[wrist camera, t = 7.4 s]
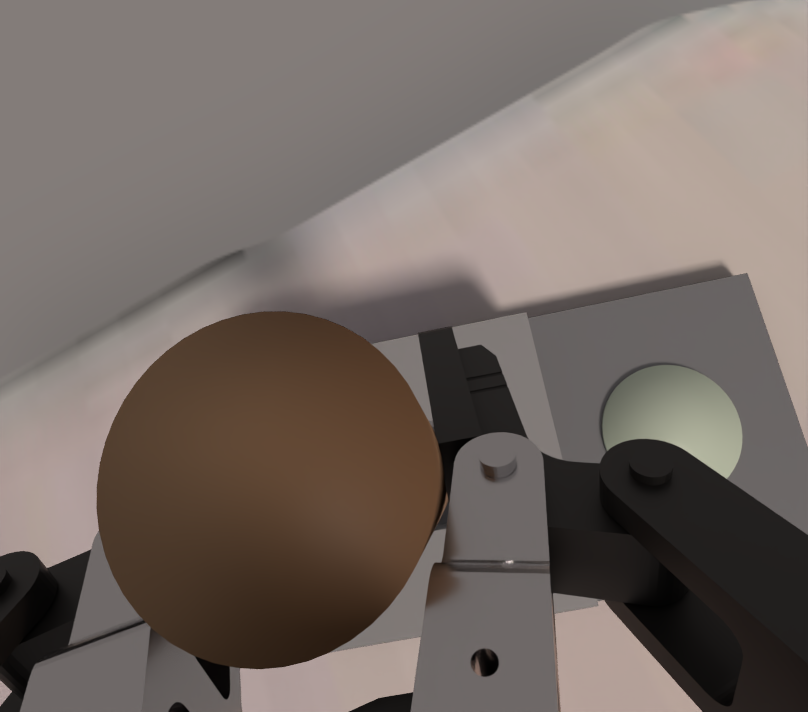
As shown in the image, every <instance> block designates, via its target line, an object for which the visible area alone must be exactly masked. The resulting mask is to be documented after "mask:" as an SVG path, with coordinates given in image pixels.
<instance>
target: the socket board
mask: <svg viewBox="0 0 808 712" xmlns="http://www.w3.org/2000/svg"><path fill="white" fill-rule="evenodd" d="M452 329H453V333H454V337H455V340H456V344H457V347H458V349H460V348H465V347H471V346H476V345H482V346H484V347H485V348H486V349H488V350H489V351H490V352H492V353H493V354H494V355H496V357H497V359H498V362H499V365H500V367H501V370H502V374H503V375H504V378H505V380H506V383H507V387H508V388H509V391H510V393H511V396H512V398H513V401H514V404H515V406H516V409H517V411H518V414H519V417H520V419H521V422H522V425H523V427H524V430H525V432H526V435H527V437H528V439H529V440H530V441H532V442H533V443H534V444H535V445H536V446H537V447H538V448H539V449H540V451H541V452H543V453H545V454H547V455H549V456H551V457H554V458H557V459H561V460H565V461H572V462H585V463H600V462H601V459H602V457H603V456H604V454H605V453H606V452H607V451H608V450H609V449H610V448H612V447H613V446H615V445H617V444H619V443H621V442H624V441H628V440H634V439H655V440H660V441H665V442H668V443H671V444H674V445H676V446H678V447H680V448H682V449H684V450H685V451H687V452H689V453H690V454H691V455H693V456H694V457H696V458H697V459H699V460H700V461H702V462H703V463H704V464H706V465H707V466H709V467H710V468H712V469H713V470H715V471H716V472H717V473H719V474H720V475H722V476H723V477H725V478H726V479H728V480H729V481H731V482H732V483H733V484H735V485H736V486H738V487H739V488H741V489H742V490H744V491H745V492H746V493H748V494H749V495H751V496H752V497H754V498H755V499H757V500H758V501H760V502H761V503H762V504H764V505H765V506H767V507H768V508H770V509H771V510H773V511H774V512H775V513H777V514H778V515H780V516H781V517H783V518H784V519H786V520H787V521H788V522H790V523H791V524H793V525H794V526H796V527H797V528H799V529H800V530H802V531H803V532H804V533H806V534H807V535H808V447H807V444H806V441H805V438H804V435H803V432H802V429H801V427H800V424H799V421H798V418H797V415H796V412H795V409H794V406H793V403H792V401H791V398H790V395H789V392H788V389H787V386H786V383H785V380H784V378H783V375H782V372H781V369H780V366H779V363H778V360H777V357H776V354H775V352H774V349H773V346H772V343H771V340H770V337H769V334H768V331H767V329H766V326H765V323H764V320H763V317H762V314H761V311H760V308H759V305H758V303H757V300H756V297H755V294H754V291H753V288H752V285H751V282H750V279H749V277H748V274H747V273H745V274H740V275H735V276H731V277H726V278H721V279H716V280H711V281H706V282H701V283H696V284H692V285H687V286H682V287H677V288H672V289H667V290H662V291H657V292H652V293H648V294H643V295H638V296H633V297H628V298H623V299H618V300H613V301H609V302H604V303H599V304H594V305H589V306H584V307H579V308H574V309H569V310H565V311H560V312H555V313H550V314H545V315H540V316H535V317H530V318H528V316H527V312H524V313H519V314H514V315H509V316H504V317H499V318H495V319H490V320H485V321H480V322H475V323H470V324H465V325H461V326H456V327H452ZM372 345H373V346H374V347H375V348H377V349H378V350H379V351H380V352H381V353H382V354H383V355H384V356H385V357H386V358H387V359H388V360H389V361H390V362H391V363H392V364H393V365H394V366H395V367H396V368H397V370H398V371H399V372H400V374H401V375H402V376H403V378H404V379H405V380H406V382H407V383H408V385H409V386H410V388H411V390H412V392H413V394H414V395H415V397H416V399H417V401H418V402H419V404H420V406H421V408H422V410H423V412H424V413H425V415H426V417H427V419H428V421H429V423H430V424H431V426H432V428H433V430H434V425H433V419H432V413H431V407H430V401H429V396H428V390H427V384H426V378H425V372H424V366H423V361H422V355H421V349H420V343H419V337H418V334H417V335H412V336H407V337H402V338H397V339H392V340H388V341H383V342H378V343H373V344H372ZM434 432H435V431H434ZM448 510H449V501H448V503H447V506H446V508H445V510H444V512H443V514H442V516H441V518H440V520H439V522H438V524H437V526H436V528H435V530H434V532H433V534H432V536H431V538H430V540H429V542H428V544H427V546H426V548H425V549H424V551H423V553H422V555H421V557H420V559H419V561H418V563H417V565H416V567H415V569H414V571H413V572H412V574H411V576H410V577H409V579H408V581H407V583H406V584H405V586H404V588H403V589H402V590H401V592H400V593H399V594H398V596H397V597H396V598H395V600H394V601H393V602H392V604H391V605H390V606H389V607H388V608H387V609H386V610H385V611H384V612H383V613H382V614H381V615H380V616H379V617H378V618H377V620H376V621H375V622H374V623H373V624H372V625H370V626H369V627H368V628H366V629H365V630H364V631H363V632H361V633H360V634H359V635H357V636H356V637H355V638H353V639H352V640H351V641H349V642H347V643H345V644H344V645H342V646H340V647H338V648H337V649H335V650H333V651H331V652H336V651H341V650H347V649H353V648H359V647H364V646H370V645H376V644H382V643H388V642H393V641H399V640H405V639H411V638H417V637H421V633H422V626H423V619H424V612H425V604H426V597H427V590H428V583H429V577H430V572H431V569H432V566H433V564H434V563H435V562H442V558H443V551H444V543H445V534H446V526H447V518H448ZM553 599H554V614H555V613H561V612H567V611H573V610H578V609H584V608H590V607H596V606H598V602H597V601H601V599H594V598H587V597H579V596H572V595H565V594H557V593H553ZM329 653H330V652H329Z"/></svg>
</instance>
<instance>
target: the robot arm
mask: <svg viewBox="0 0 808 712" xmlns="http://www.w3.org/2000/svg"><path fill="white" fill-rule="evenodd" d="M418 337H419V343H420V349H421V355H422V361H423V366H424V372H425V378H426V384H427V390H428V396H429V401H430V407H431V413H432V419H433V425H434V431H435V436H436V438H437V441H438V445H439V449H440V452H441V456H442V461H443V468H444V481H445V486H446V491H447V496H448V500H449V510H448V518H447V526H446V534H445V543H444V551H443V558H442V562H435V563H434V564H433V566H432V569H431V572H430V577H429V583H428V590H427V597H426V604H425V612H424V619H423V626H422V633H421V640H420V648H419V655H418V662H417V669H416V676H415V684H414V691H413V692H412V693H407V694H401V695H395V696H389V697H383V698H378V699H376V700H374V701H372V702H369V703H367V704H365V705H363V706H361V707H358V708H356V709H354V710H352V711H350V712H561V707H560V693H559V678H558V662H557V646H556V631H555V615H554V599H553V593H557V594H565V595H572V596H579V597H587V598H594V599H601V600H605V602H606V603H607V605H608V606H609V607H610V609H611V610H612V611H613V612H614V613H615V614H616V615H617V616H618V618H619V619H620V620H621V621H622V622H623V623H624V624H625V625H626V627H627V628H628V629H629V630H630V631H631V632H632V633H633V634H634V635H635V637H636V638H637V639H638V640H639V641H640V642H641V643H642V644H643V646H644V647H645V648H646V649H647V650H648V651H649V652H650V653H651V654H652V656H653V657H654V658H655V659H656V660H657V661H658V662H659V663H660V665H661V666H662V667H663V668H664V669H665V670H666V671H667V672H668V673H669V675H670V676H671V677H672V678H673V679H674V680H675V681H676V682H677V684H678V685H679V686H680V687H681V688H682V689H683V690H684V691H685V692H686V694H687V695H688V696H689V697H690V698H691V699H692V700H693V701H694V703H695V704H696V705H697V706H698V707H699V708H700V709H701V710H702V711H703V712H808V535H807V534H806V533H804V532H803V531H802V530H800V529H799V528H797V527H796V526H794V525H793V524H791V523H790V522H788V521H787V520H786V519H784V518H783V517H781V516H780V515H778V514H777V513H775V512H774V511H773V510H771V509H770V508H768V507H767V506H765V505H764V504H762V503H761V502H760V501H758V500H757V499H755V498H754V497H752V496H751V495H749V494H748V493H746V492H745V491H744V490H742V489H741V488H739V487H738V486H736V485H735V484H733V483H732V482H731V481H729V480H728V479H726V478H725V477H723V476H722V475H720V474H719V473H717V472H716V471H715V470H713V469H712V468H710V467H709V466H707V465H706V464H704V463H703V462H702V461H700V460H699V459H697V458H696V457H694V456H693V455H691V454H690V453H689V452H687V451H685V450H684V449H682V448H680V447H678V446H676V445H674V444H671V443H668V442H665V441H660V440H655V439H634V440H628V441H624V442H621V443H619V444H617V445H615V446H613V447H612V448H610V449H609V450H608V451H607V452H606V453H605V454H604V456H603V457H602V459H601V462H600V463H585V462H572V461H565V460H561V459H557V458H554V457H551V456H549V455H547V454H545V453H543V452H541V451H540V449H539V448H538V447H537V446H536V445H535V444H534V443H533V442H532V441H530V440H529V439H528V437H527V435H526V432H525V430H524V427H523V425H522V422H521V419H520V417H519V414H518V411H517V409H516V406H515V404H514V401H513V398H512V396H511V393H510V391H509V388H508V387H507V383H506V380H505V378H504V375H503V374H502V370H501V367H500V365H499V362H498V359H497V357H496V355H494V354H493V353H492V352H490V351H489V350H488V349H486V348H485V347H484V346H482V345H476V346H471V347H465V348H460V349H458V347H457V344H456V340H455V337H454V333H453V329H452V327H445V328H440V329H435V330H430V331H425V332H420V333H418ZM0 680H1V681H2V682H3V683H4V684H5V685H6V686H7V687H8V688H9V689H10V690H11V691H12V693H11V694H10V695H9V696H8V698H7V699H6V700H5V701H4V702H3V704H2V705H1V706H0V712H242V706H241V685H240V668H235V667H230V666H226V665H221V664H216V663H212V662H210V661H207V660H204V659H201V658H199V657H196V656H193V655H191V654H189V653H187V652H186V651H184V650H182V649H180V648H178V647H176V646H175V645H173V644H171V643H170V642H169V641H167V640H166V639H165V638H163V637H162V636H161V635H159V634H158V633H157V632H155V631H154V630H153V629H152V628H151V627H150V626H149V625H148V624H147V623H146V622H145V621H144V620H143V619H142V618H141V617H140V616H139V615H138V614H137V613H136V611H135V610H134V608H133V607H132V606H131V604H130V603H129V602H128V600H127V599H126V598H125V596H124V595H123V593H122V591H121V589H120V587H119V586H118V584H117V582H116V580H115V578H114V576H113V574H112V572H111V569H110V567H109V564H108V561H107V559H106V556H105V553H104V549H103V545H102V541H101V537H100V533H99V531H98V533H97V535H96V536H95V539H94V541H93V545H92V549H91V550H89V551H87V552H84V553H82V554H80V555H77V556H75V557H73V558H70V559H68V560H66V561H63V562H61V563H59V564H56V565H54V566H52V567H49V568H46V567H45V565H44V564H43V563H42V562H41V560H40V559H39V558H38V557H37V556H36V555H35V554H33V553H31V552H25V551H20V552H14V553H9V554H6V555H3V556H1V557H0Z"/></svg>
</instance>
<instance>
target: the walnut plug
mask: <svg viewBox="0 0 808 712" xmlns="http://www.w3.org/2000/svg"><path fill="white" fill-rule="evenodd" d="M448 501H449V500H448V496H447V491H446V486H445V481H444V468H443V461H442V456H441V452H440V449H439V445H438V441H437V438H436V436H435V432H434V430H433V428H432V426H431V424H430V423H429V421H428V419H427V417H426V415H425V413H424V412H423V410H422V408H421V406H420V404H419V402H418V401H417V399H416V397H415V395H414V394H413V392H412V390H411V388H410V386H409V385H408V383H407V382H406V380H405V379H404V378H403V376H402V375H401V374H400V372H399V371H398V370H397V368H396V367H395V366H394V365H393V364H392V363H391V362H390V361H389V360H388V359H387V358H386V357H385V356H384V355H383V354H382V353H381V352H380V351H379V350H378V349H377V348H375V347H374V346H373V345H372V344H370V343H369V342H368V341H366V340H365V339H364V338H362V337H361V336H359V335H357V334H355V333H354V332H352V331H350V330H349V329H347V328H345V327H343V326H340V325H338V324H336V323H333V322H331V321H328V320H326V319H322V318H318V317H315V316H311V315H307V314H301V313H293V312H258V313H250V314H243V315H239V316H235V317H232V318H228V319H224V320H221V321H219V322H216V323H214V324H211V325H209V326H206V327H204V328H202V329H200V330H198V331H197V332H195V333H193V334H191V335H189V336H188V337H186V338H184V339H183V340H181V341H180V342H178V343H177V344H176V345H174V346H173V347H172V348H170V349H169V350H167V351H166V352H165V353H164V354H163V355H162V356H161V357H160V358H159V359H157V360H156V361H155V362H154V363H153V364H152V365H151V366H150V367H149V368H148V369H147V371H146V372H145V373H144V374H143V375H142V376H141V378H140V379H139V380H138V381H137V382H136V384H135V385H134V387H133V388H132V390H131V391H130V393H129V394H128V395H127V397H126V398H125V400H124V402H123V403H122V405H121V407H120V409H119V411H118V413H117V415H116V417H115V419H114V421H113V423H112V426H111V429H110V431H109V434H108V436H107V439H106V442H105V446H104V450H103V454H102V457H101V461H100V467H99V474H98V482H97V516H98V525H99V533H100V537H101V541H102V545H103V549H104V553H105V556H106V559H107V561H108V564H109V567H110V569H111V572H112V574H113V576H114V578H115V580H116V582H117V584H118V586H119V587H120V589H121V591H122V593H123V595H124V596H125V598H126V599H127V600H128V602H129V603H130V604H131V606H132V607H133V608H134V610H135V611H136V613H137V614H138V615H139V616H140V617H141V618H142V619H143V620H144V621H145V622H146V623H147V624H148V625H149V626H150V627H151V628H152V629H153V630H154V631H155V632H157V633H158V634H159V635H161V636H162V637H163V638H165V639H166V640H167V641H169V642H170V643H171V644H173V645H175V646H176V647H178V648H180V649H182V650H184V651H186V652H187V653H189V654H191V655H193V656H196V657H199V658H201V659H204V660H207V661H210V662H212V663H216V664H221V665H226V666H230V667H235V668H249V669H267V668H278V667H286V666H290V665H294V664H298V663H302V662H307V661H309V660H312V659H314V658H317V657H319V656H322V655H324V654H327V653H329V652H331V651H333V650H335V649H337V648H338V647H340V646H342V645H344V644H345V643H347V642H349V641H351V640H352V639H353V638H355V637H356V636H357V635H359V634H360V633H361V632H363V631H364V630H365V629H366V628H368V627H369V626H370V625H372V624H373V623H374V622H375V621H376V620H377V618H378V617H379V616H380V615H381V614H382V613H383V612H384V611H385V610H386V609H387V608H388V607H389V606H390V605H391V604H392V602H393V601H394V600H395V598H396V597H397V596H398V594H399V593H400V592H401V590H402V589H403V588H404V586H405V584H406V583H407V581H408V579H409V577H410V576H411V574H412V572H413V571H414V569H415V567H416V565H417V563H418V561H419V559H420V557H421V555H422V553H423V551H424V549H425V548H426V546H427V544H428V542H429V540H430V538H431V536H432V534H433V532H434V530H435V528H436V526H437V524H438V522H439V520H440V518H441V516H442V514H443V512H444V510H445V508H446V506H447V503H448Z"/></svg>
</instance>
